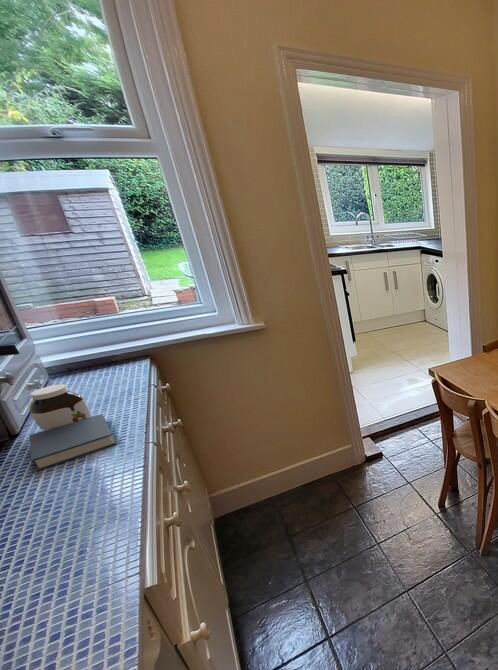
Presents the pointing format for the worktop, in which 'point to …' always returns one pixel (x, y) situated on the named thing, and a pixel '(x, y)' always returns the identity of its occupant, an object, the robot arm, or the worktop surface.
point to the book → (70, 441)
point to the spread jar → (57, 407)
